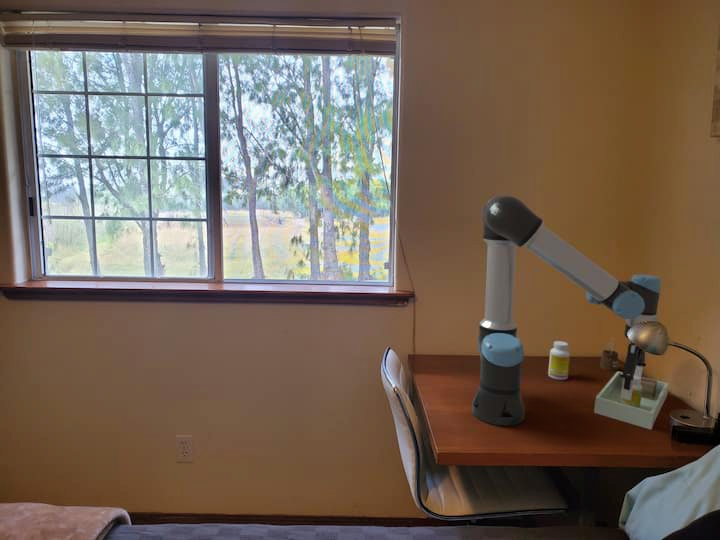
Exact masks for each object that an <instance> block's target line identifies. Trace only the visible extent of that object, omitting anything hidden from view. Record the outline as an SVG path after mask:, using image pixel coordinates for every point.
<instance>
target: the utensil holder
mask: <svg viewBox="0 0 720 540" xmlns="http://www.w3.org/2000/svg"><path fill="white" fill-rule="evenodd" d="M616 340H617V338H616V337H612V336H611V340H610V342H609V343H608V346H609V347H610V349H604V350H603V351H602V355H601V356H600V363H599V366H600V367H599V368H601V369H602V370H604V371H607V372H617V371H618V367H619V362H620V361H619V353H618V352H617V351H614V347H615V346H616Z"/></svg>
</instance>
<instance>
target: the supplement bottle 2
mask: <svg viewBox="0 0 720 540" xmlns="http://www.w3.org/2000/svg"><path fill="white" fill-rule="evenodd" d="M628 375H629V374H628ZM633 378H634V383H633V390H632V397H631V401H630V400H627V399H623V398H620V403H622V404H626V405H629V406H633V407H636V408H640V402H641V394H642V385H641V384H639V383H640V380H641V378H640V377H639V376H636V375H634V377H633Z"/></svg>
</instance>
